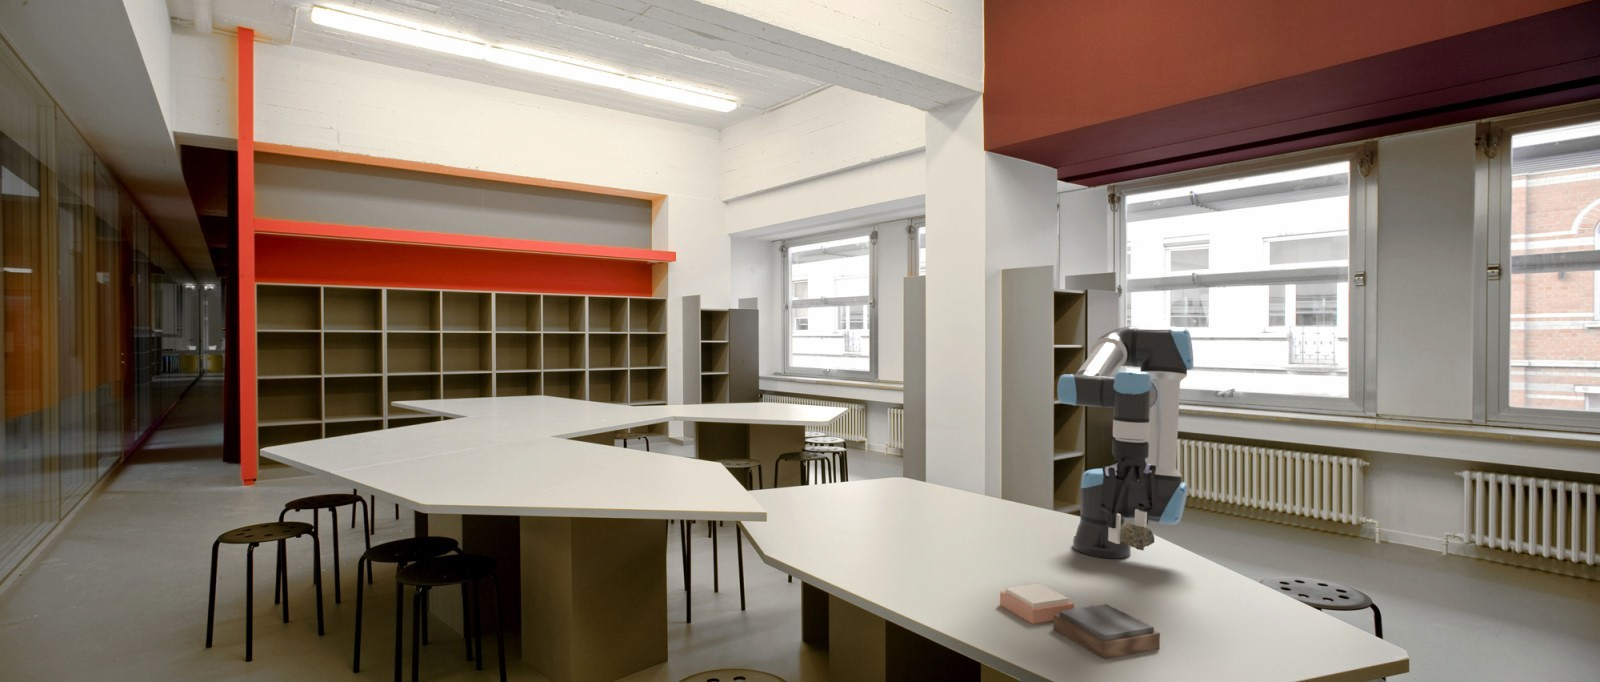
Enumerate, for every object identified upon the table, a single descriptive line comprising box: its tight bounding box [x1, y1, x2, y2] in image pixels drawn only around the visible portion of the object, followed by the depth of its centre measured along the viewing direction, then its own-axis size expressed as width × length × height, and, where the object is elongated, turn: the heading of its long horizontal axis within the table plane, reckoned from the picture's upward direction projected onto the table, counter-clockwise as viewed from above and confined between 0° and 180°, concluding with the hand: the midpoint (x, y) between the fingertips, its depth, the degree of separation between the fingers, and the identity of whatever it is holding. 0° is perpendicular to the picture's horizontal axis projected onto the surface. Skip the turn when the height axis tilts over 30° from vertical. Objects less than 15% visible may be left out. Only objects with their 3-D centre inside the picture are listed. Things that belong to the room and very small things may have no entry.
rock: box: [1120, 522, 1155, 551], centre depth 159 cm, size 7×8×4 cm
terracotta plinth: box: [999, 583, 1075, 625], centre depth 158 cm, size 11×11×4 cm
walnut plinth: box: [1053, 603, 1161, 660], centre depth 144 cm, size 14×14×4 cm
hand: (1127, 540), depth 161 cm, fingers closed on rock, 7 cm apart
